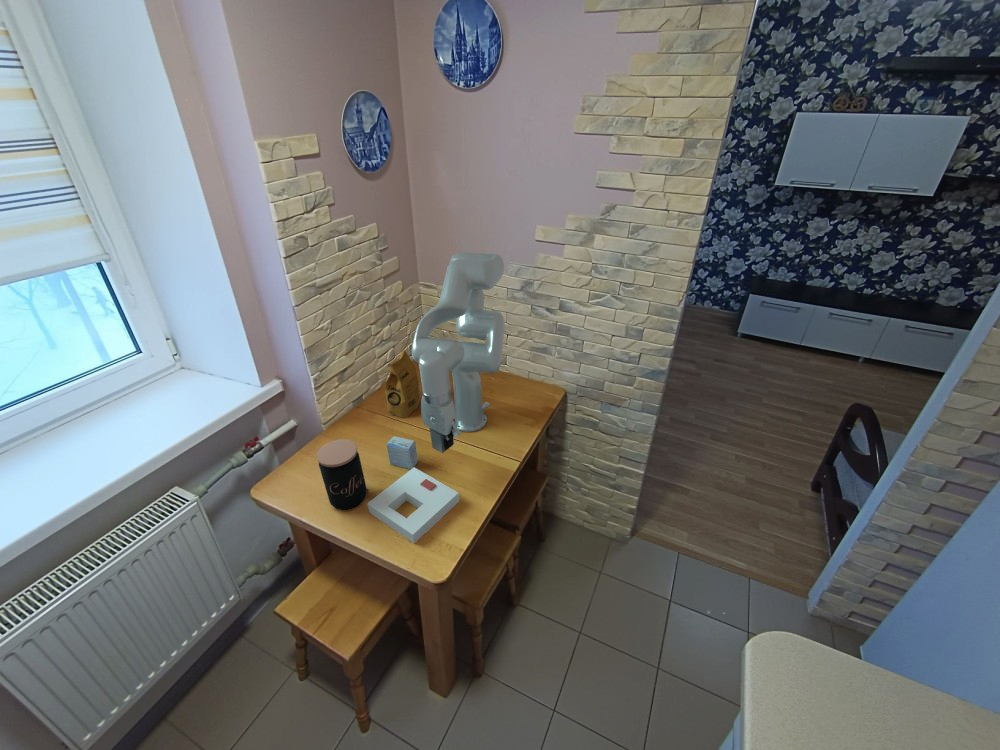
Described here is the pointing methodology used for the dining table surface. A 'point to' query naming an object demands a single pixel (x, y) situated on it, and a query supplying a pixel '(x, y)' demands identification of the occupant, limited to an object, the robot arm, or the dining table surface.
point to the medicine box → (402, 452)
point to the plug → (438, 441)
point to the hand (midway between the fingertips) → (443, 443)
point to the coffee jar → (342, 474)
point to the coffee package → (402, 387)
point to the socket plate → (414, 503)
